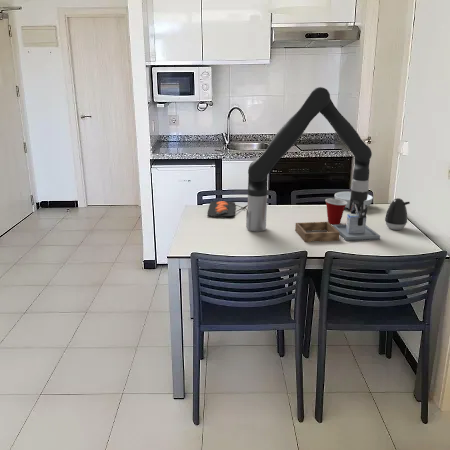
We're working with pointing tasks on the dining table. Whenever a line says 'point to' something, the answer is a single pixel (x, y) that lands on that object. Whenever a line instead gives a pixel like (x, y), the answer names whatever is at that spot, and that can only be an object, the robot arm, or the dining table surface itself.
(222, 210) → the sushi plate
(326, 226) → the walnut holder
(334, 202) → the plastic cup
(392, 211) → the pump dispenser
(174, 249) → the dining table surface
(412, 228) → the dining table surface
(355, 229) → the medicine box
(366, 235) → the grey tray
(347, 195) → the serving bowl
